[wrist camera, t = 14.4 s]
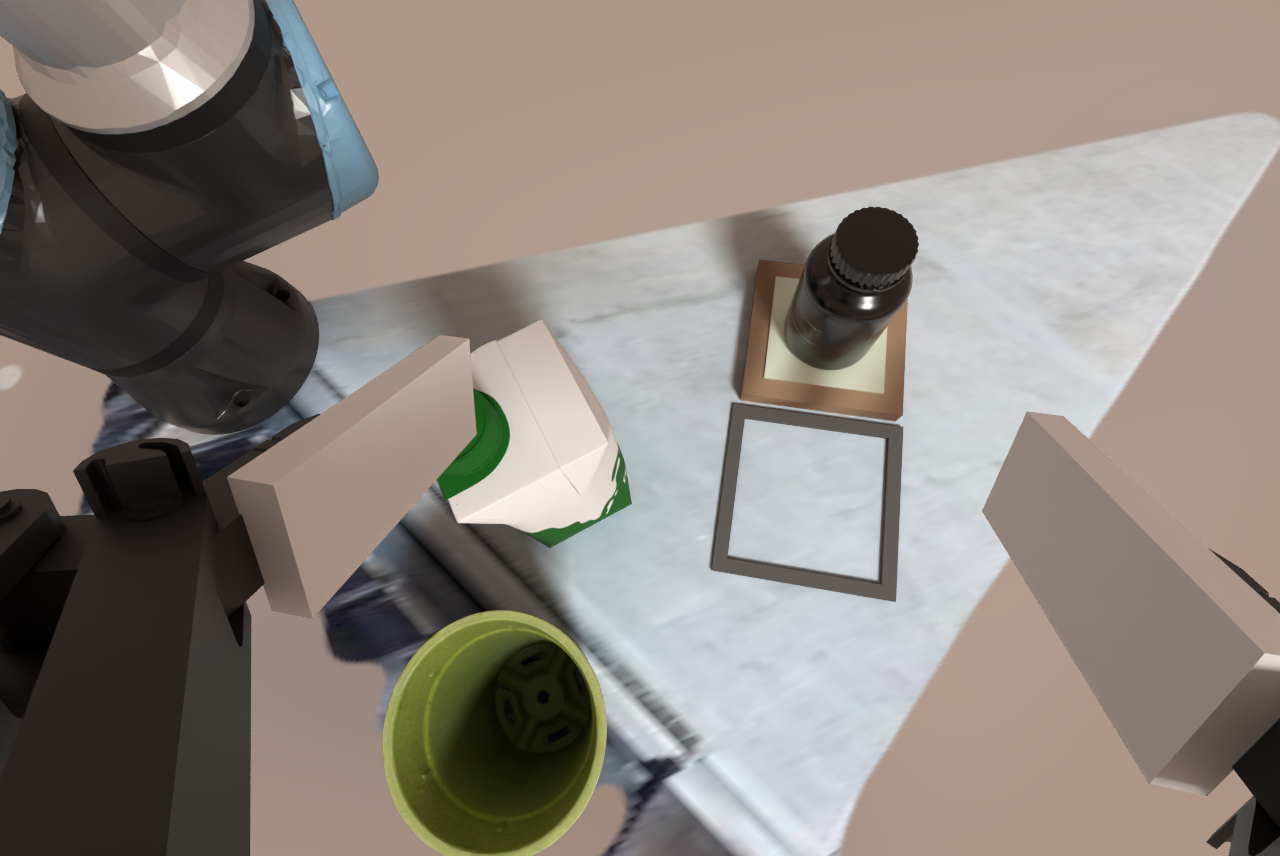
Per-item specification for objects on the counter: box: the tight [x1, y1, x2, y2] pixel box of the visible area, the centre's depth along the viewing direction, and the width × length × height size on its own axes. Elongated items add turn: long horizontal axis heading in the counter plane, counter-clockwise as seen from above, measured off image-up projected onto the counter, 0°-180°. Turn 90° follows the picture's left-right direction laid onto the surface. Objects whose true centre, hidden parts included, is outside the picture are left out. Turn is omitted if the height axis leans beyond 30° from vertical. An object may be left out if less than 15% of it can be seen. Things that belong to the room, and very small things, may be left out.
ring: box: [712, 404, 903, 602], centre depth 42 cm, size 13×13×1 cm
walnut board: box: [740, 260, 908, 421], centre depth 45 cm, size 12×12×2 cm
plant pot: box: [382, 610, 607, 856], centre depth 34 cm, size 12×12×11 cm
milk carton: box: [437, 319, 632, 548], centre depth 34 cm, size 9×9×20 cm
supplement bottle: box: [784, 207, 919, 370], centre depth 39 cm, size 7×7×12 cm
